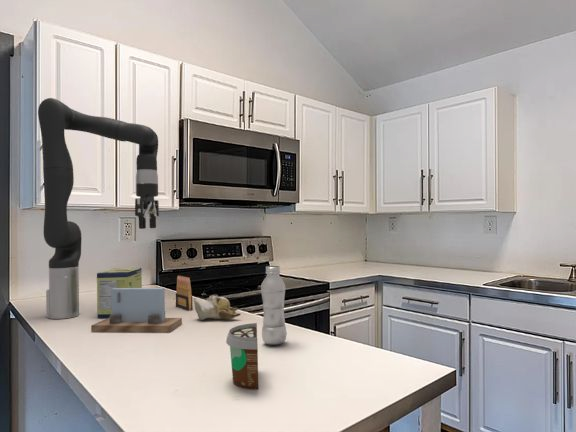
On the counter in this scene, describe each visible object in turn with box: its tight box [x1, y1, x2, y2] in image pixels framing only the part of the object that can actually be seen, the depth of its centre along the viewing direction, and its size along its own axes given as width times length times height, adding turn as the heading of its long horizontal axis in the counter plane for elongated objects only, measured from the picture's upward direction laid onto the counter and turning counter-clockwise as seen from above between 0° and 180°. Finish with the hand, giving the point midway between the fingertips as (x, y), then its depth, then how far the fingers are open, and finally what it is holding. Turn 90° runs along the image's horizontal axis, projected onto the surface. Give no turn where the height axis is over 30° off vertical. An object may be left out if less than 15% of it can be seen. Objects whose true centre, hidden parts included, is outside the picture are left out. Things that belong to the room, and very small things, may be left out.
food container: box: [226, 322, 259, 390], centre depth 83 cm, size 12×6×10 cm, turn 5°
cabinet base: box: [90, 314, 183, 334], centre depth 127 cm, size 24×10×4 cm, turn 84°
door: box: [111, 287, 166, 322], centre depth 127 cm, size 16×3×10 cm, turn 84°
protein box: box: [96, 267, 143, 320], centre depth 148 cm, size 10×16×16 cm
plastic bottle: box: [260, 265, 288, 346], centre depth 107 cm, size 6×7×20 cm
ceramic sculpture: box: [193, 293, 241, 321], centre depth 137 cm, size 11×9×15 cm
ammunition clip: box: [175, 275, 194, 312], centre depth 155 cm, size 11×2×12 cm, turn 39°
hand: (147, 228), depth 149 cm, fingers open, 8 cm apart
